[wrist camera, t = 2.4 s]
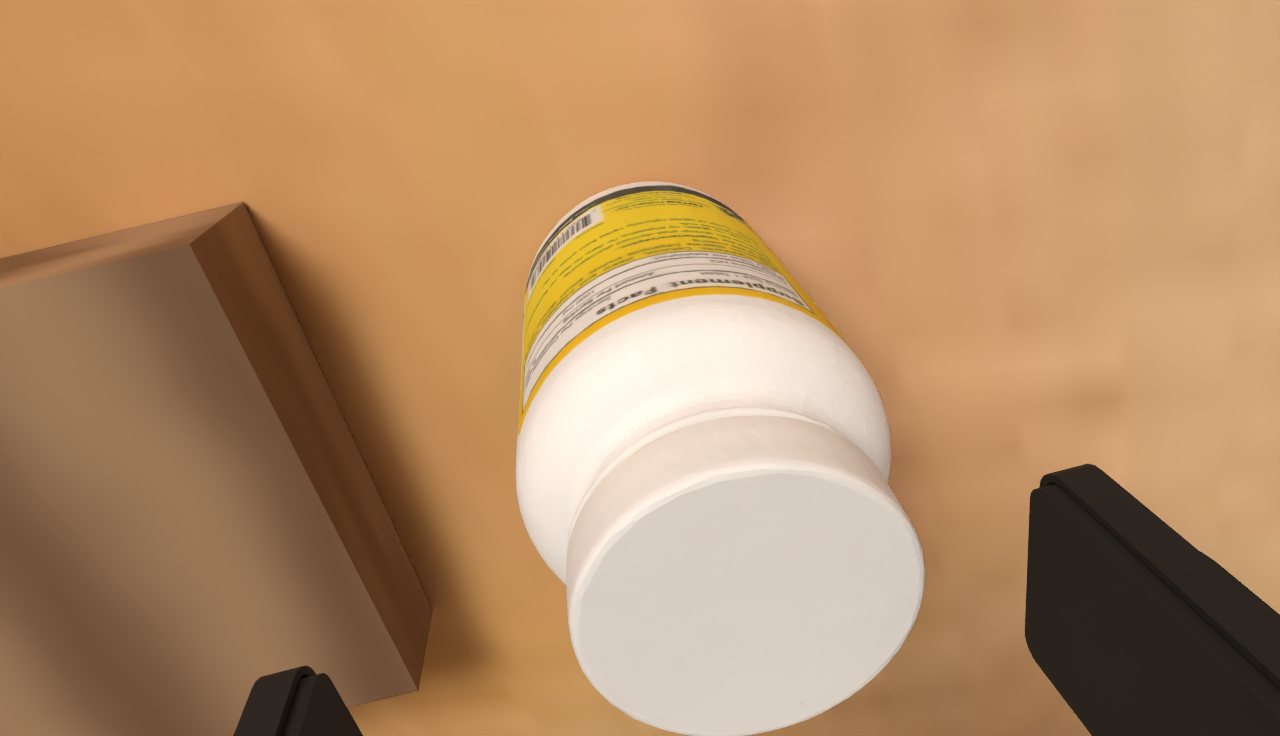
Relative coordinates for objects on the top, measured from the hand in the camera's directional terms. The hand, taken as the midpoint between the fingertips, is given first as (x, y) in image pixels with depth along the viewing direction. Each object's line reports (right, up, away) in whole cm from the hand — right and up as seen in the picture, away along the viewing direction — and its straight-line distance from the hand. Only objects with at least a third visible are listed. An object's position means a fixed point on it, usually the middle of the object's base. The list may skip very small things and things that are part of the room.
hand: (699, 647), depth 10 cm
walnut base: (-15, 0, +10) cm, 18 cm away
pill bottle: (-1, +6, +10) cm, 11 cm away
